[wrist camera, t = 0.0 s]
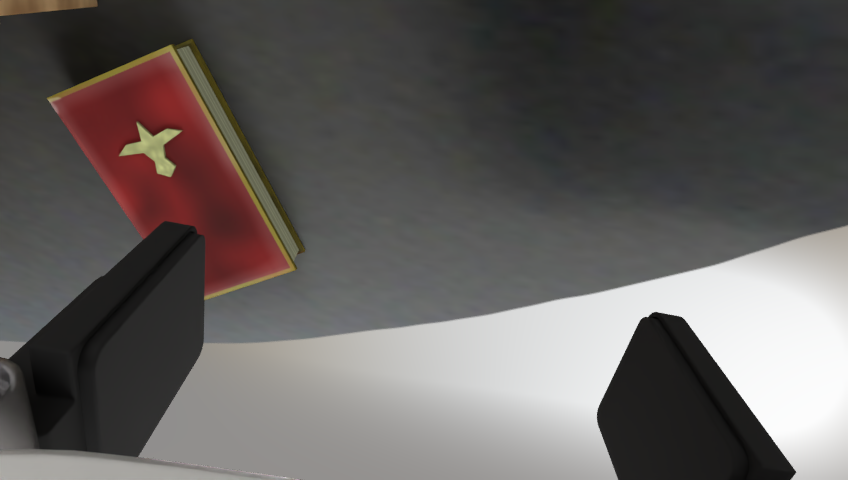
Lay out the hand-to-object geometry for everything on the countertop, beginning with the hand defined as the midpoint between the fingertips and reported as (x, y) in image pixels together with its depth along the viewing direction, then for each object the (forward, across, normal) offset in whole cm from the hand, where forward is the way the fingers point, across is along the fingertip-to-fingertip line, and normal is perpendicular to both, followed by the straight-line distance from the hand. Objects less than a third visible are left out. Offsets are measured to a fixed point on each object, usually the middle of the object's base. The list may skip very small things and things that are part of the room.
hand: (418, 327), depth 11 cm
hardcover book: (+37, +19, +14) cm, 44 cm away
